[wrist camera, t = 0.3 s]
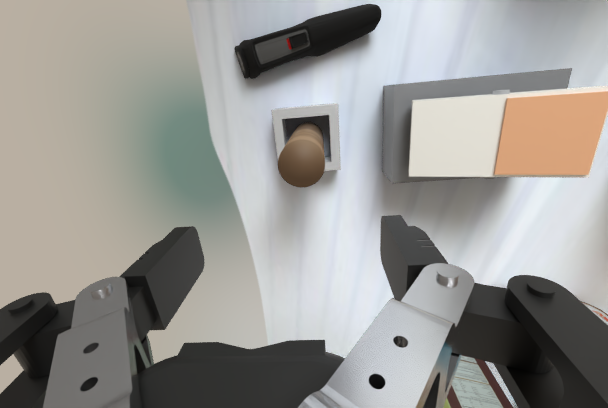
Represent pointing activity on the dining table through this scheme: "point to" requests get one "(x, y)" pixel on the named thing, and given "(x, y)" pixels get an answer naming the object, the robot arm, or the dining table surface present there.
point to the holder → (308, 111)
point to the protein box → (475, 387)
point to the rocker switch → (508, 134)
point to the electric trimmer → (306, 39)
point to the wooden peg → (303, 156)
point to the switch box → (402, 95)
